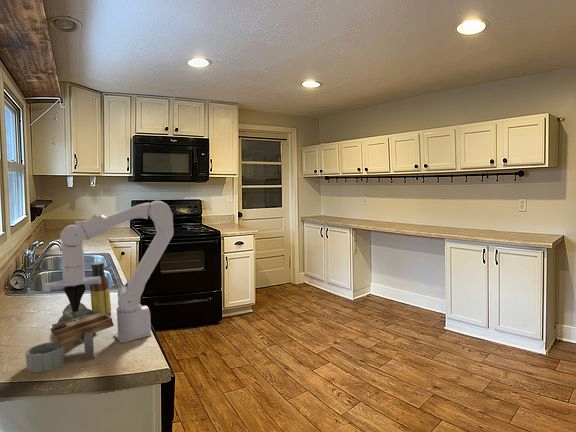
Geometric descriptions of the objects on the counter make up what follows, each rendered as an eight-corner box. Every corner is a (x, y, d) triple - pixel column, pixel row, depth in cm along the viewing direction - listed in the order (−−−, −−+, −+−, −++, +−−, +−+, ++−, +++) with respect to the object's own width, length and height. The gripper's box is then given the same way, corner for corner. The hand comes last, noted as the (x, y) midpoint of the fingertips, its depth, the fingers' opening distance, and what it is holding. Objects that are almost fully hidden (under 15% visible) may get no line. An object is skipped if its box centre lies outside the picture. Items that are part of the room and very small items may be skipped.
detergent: (104, 334, 126) (96, 311, 148) (101, 313, 125) (94, 292, 147) (57, 347, 120) (56, 320, 141) (54, 324, 119) (53, 301, 140)
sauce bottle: (106, 312, 147) (103, 260, 145) (114, 316, 143) (112, 262, 142) (88, 317, 142) (85, 263, 140) (96, 321, 138) (93, 265, 136)
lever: (101, 315, 123) (100, 308, 123) (114, 326, 113) (112, 319, 113) (50, 331, 114) (49, 324, 114) (59, 345, 105) (57, 337, 104)
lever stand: (80, 341, 121) (79, 317, 120) (94, 359, 109) (92, 332, 108) (73, 343, 120) (71, 318, 119) (86, 361, 108) (84, 334, 107)
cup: (59, 355, 112) (58, 339, 111) (65, 365, 105) (64, 349, 105) (25, 364, 106) (24, 347, 106) (29, 375, 100) (28, 358, 100)
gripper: (96, 260, 124) (97, 302, 126) (42, 266, 115) (44, 312, 116) (102, 264, 119) (103, 308, 120) (46, 270, 110) (48, 318, 111)
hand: (75, 310), depth 118 cm, fingers closed
